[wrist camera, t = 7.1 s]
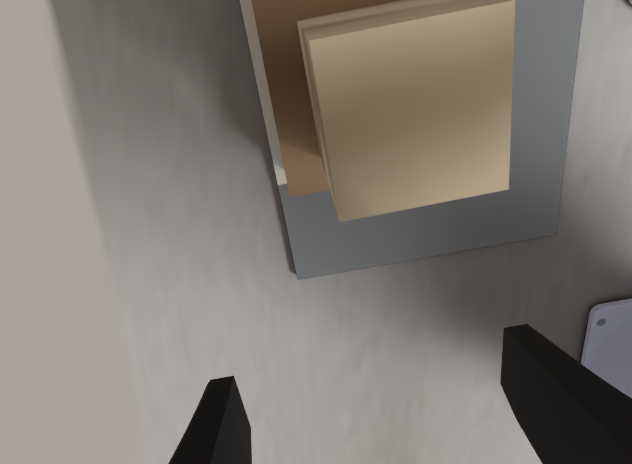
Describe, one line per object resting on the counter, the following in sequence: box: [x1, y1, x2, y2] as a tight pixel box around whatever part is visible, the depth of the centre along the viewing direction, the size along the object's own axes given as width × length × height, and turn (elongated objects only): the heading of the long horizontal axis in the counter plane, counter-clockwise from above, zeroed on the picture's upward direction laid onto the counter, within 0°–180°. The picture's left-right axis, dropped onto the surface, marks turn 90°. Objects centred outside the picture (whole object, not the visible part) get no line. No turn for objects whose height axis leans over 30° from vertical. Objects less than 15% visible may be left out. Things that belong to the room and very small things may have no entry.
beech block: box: [297, 0, 515, 222], centre depth 13 cm, size 4×4×5 cm
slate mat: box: [240, 0, 584, 280], centre depth 19 cm, size 14×12×1 cm
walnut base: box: [251, 0, 400, 197], centre depth 17 cm, size 7×7×2 cm
